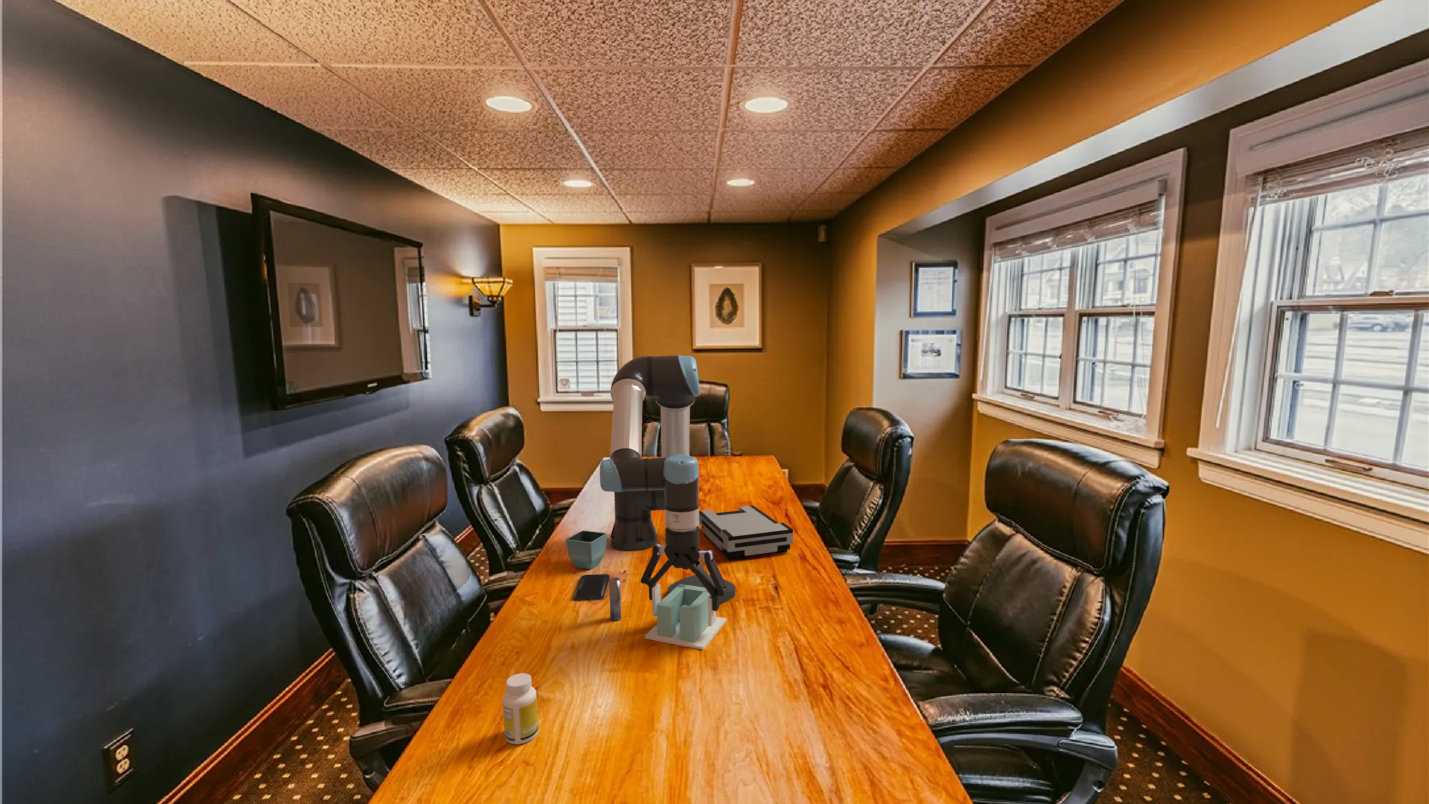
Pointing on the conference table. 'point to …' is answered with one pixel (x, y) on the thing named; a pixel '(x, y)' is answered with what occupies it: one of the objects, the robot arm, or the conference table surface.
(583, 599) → the phone
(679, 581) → the media streaming box
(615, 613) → the grey cylinder
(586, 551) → the flower pot
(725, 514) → the game console
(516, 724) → the supplement bottle
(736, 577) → the conference table surface
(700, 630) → the green u-shaped block
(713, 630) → the mat
